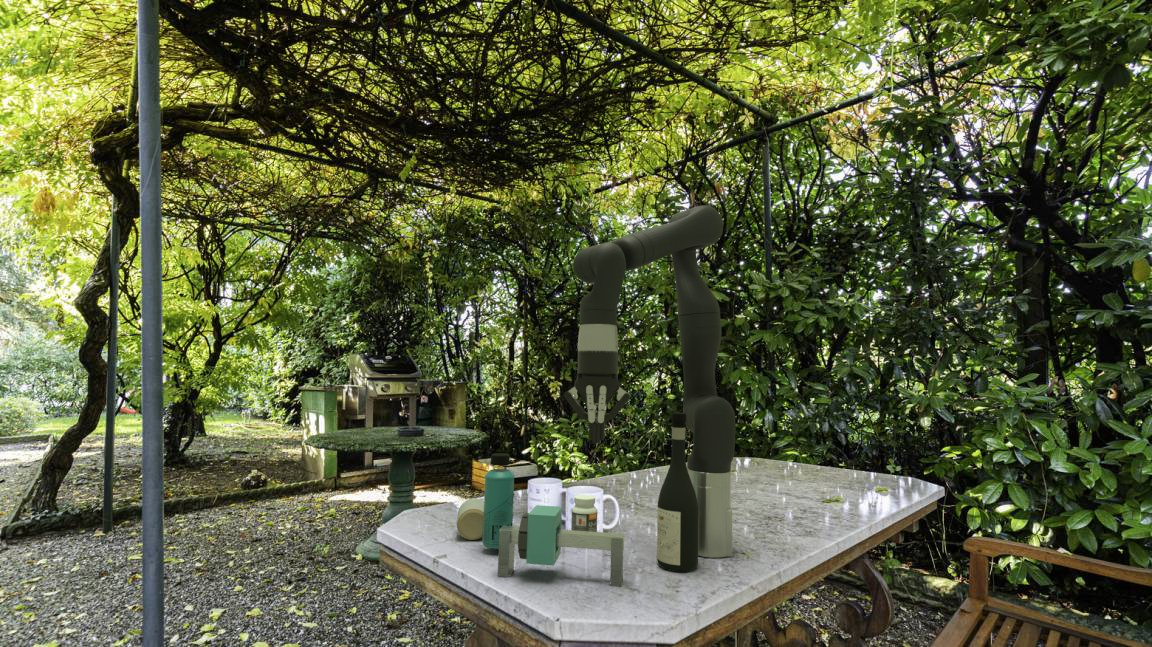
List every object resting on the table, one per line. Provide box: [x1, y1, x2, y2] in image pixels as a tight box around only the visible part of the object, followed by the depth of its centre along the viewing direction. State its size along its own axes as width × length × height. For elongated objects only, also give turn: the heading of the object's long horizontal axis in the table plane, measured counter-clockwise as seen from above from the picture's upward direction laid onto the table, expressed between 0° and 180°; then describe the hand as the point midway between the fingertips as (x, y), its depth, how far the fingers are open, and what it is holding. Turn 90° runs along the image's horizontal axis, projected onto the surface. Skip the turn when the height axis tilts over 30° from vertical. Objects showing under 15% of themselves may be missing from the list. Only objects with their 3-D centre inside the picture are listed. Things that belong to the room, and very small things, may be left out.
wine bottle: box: [656, 412, 699, 573], centre depth 112 cm, size 8×8×30 cm
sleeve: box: [525, 504, 563, 567], centre depth 104 cm, size 5×7×9 cm
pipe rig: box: [497, 525, 625, 587], centre depth 103 cm, size 23×4×8 cm, turn 82°
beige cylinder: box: [456, 497, 484, 541], centre depth 127 cm, size 11×8×8 cm
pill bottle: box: [570, 494, 598, 532], centre depth 125 cm, size 6×6×10 cm
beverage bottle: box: [481, 452, 516, 549], centre depth 118 cm, size 6×7×20 cm
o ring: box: [517, 512, 530, 560], centre depth 104 cm, size 2×8×8 cm, turn 172°
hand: (596, 442), depth 104 cm, fingers closed
